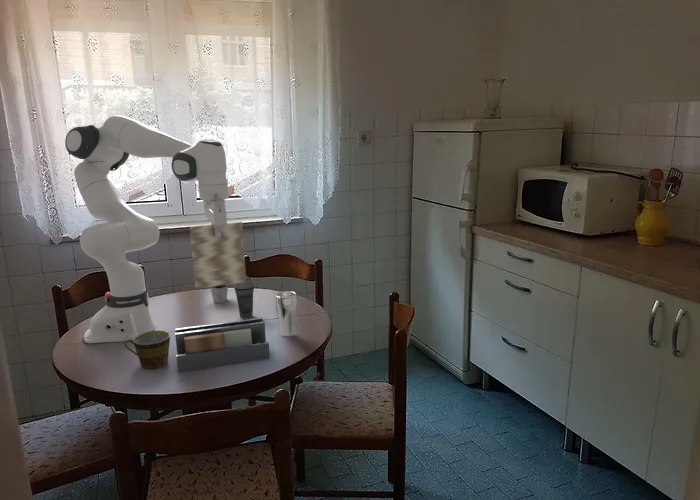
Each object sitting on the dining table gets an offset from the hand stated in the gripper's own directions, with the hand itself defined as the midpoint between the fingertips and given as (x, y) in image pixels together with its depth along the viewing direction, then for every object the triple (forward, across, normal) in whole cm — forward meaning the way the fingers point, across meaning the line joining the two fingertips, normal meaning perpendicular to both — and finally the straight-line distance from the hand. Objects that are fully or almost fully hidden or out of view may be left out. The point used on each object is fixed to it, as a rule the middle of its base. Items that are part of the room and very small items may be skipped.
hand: (217, 236), depth 165 cm
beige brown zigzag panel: (+16, 0, 0) cm, 16 cm away
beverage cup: (+35, +17, -11) cm, 41 cm away
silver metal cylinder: (+35, -8, -20) cm, 41 cm away
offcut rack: (+35, -17, +3) cm, 39 cm away
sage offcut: (+33, -18, 0) cm, 38 cm away
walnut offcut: (+33, -20, +9) cm, 40 cm away
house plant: (+35, +39, -4) cm, 53 cm away
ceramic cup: (+35, -13, +24) cm, 45 cm away
